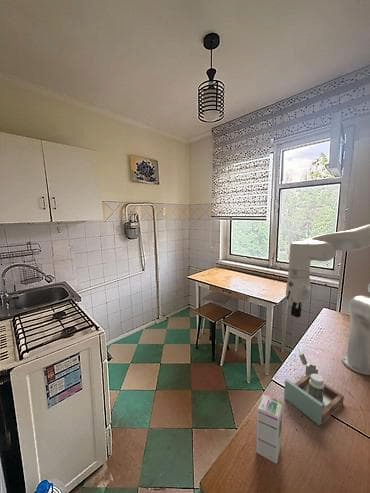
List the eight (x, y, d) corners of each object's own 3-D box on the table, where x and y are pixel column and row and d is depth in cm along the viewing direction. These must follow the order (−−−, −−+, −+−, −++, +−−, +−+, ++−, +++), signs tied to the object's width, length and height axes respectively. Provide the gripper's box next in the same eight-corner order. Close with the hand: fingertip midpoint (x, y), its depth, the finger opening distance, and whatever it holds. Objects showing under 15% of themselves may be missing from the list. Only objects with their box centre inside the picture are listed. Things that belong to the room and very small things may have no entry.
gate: (321, 423, 69) (323, 404, 68) (319, 425, 68) (321, 406, 67) (286, 395, 79) (287, 378, 78) (284, 397, 79) (285, 380, 78)
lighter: (317, 377, 89) (319, 359, 88) (316, 379, 88) (318, 361, 86) (298, 368, 94) (300, 351, 93) (297, 370, 92) (299, 353, 91)
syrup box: (277, 465, 58) (280, 418, 56) (255, 452, 61) (257, 407, 59) (280, 445, 63) (283, 402, 61) (259, 435, 66) (262, 393, 64)
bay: (307, 380, 87) (308, 374, 87) (342, 403, 77) (343, 395, 76) (286, 396, 80) (286, 389, 79) (321, 423, 69) (322, 415, 69)
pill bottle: (325, 404, 76) (327, 383, 74) (310, 402, 77) (311, 381, 75) (320, 394, 80) (321, 373, 79) (306, 391, 81) (307, 371, 80)
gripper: (296, 278, 79) (293, 324, 82) (318, 272, 87) (314, 314, 90) (278, 273, 85) (276, 316, 88) (300, 268, 93) (297, 308, 96)
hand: (295, 315), depth 89 cm, fingers closed
